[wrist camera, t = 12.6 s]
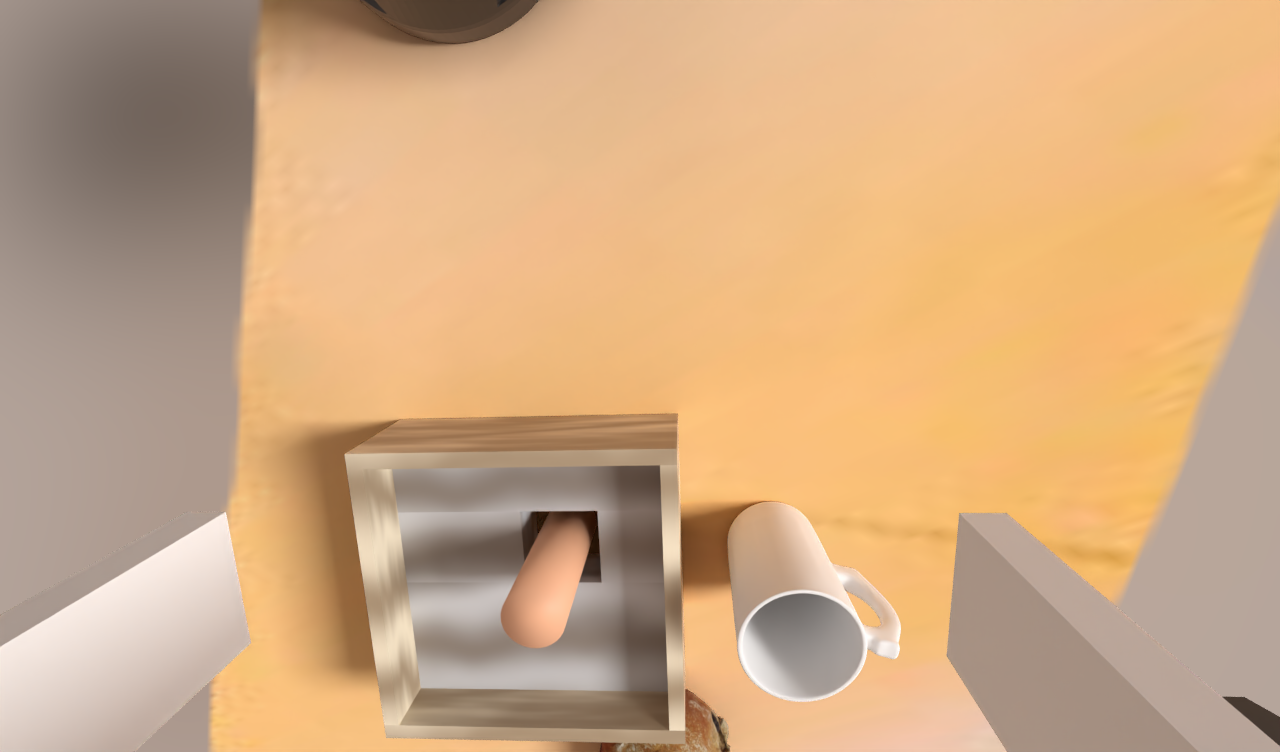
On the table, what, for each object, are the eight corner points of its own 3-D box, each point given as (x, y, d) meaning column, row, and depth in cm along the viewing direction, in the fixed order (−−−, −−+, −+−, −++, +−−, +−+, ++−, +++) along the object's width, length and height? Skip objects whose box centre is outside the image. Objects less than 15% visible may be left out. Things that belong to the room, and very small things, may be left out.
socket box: (400, 419, 44) (344, 454, 37) (677, 413, 43) (676, 448, 35) (431, 663, 48) (386, 737, 41) (685, 665, 47) (685, 744, 39)
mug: (714, 573, 45) (725, 688, 33) (733, 488, 44) (752, 578, 32) (850, 599, 45) (909, 725, 33) (874, 516, 43) (944, 616, 31)
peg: (546, 498, 45) (497, 588, 33) (595, 497, 44) (563, 588, 33) (549, 543, 45) (503, 647, 34) (598, 543, 45) (568, 648, 33)
